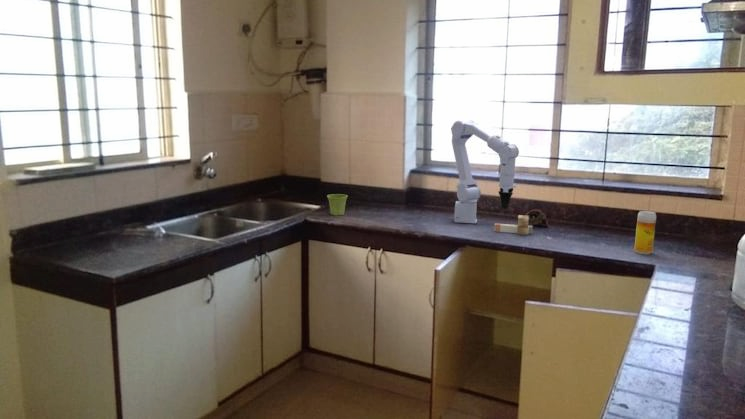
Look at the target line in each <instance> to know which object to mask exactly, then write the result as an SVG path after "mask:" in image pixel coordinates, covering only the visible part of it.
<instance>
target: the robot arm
mask: <svg viewBox="0 0 745 419" xmlns="http://www.w3.org/2000/svg"><path fill="white" fill-rule="evenodd" d="M450 131H451V135H452V136H451V144H452V150H453V154H454V159H455V163H456V168H457V173H458V178H459V182H458V184H457V185H456V188H457V189H456V190H457V191H456V196H457V200H456V201H455V205H454V214H453V217H454V223H460V224H461V223H464V224H465V223H466V224H477V222H478V219H477V204H478V203H477V202H478V200H479V199H480V197H481V195H482V192H481V189H480V187H479V185H478V182H477V181H476V180H475V179H474V178H473V174H472V170H471V166H470V160H469V156H468V153H467V152H468V151H467V147H466V143H467V141H468V140H469V139H470V138H472V136H475V137H477V138H479V139H481V141H484V142H485V143H486V144H487V147H488V148H489V149H491V150H492V151H494V152H495V153H496V154H497V155H498V157H499V159H500V160H499V161H500V168H499V169H500V174H499V183H498V187H499V191H498V195H499V197H500V203H501V208H502V209H503V210H508V207H509V205H510V200H511V197H512V195H513V194H514V193H513V191H514V188H517V184H516V185H515V184H514V183H515V169H516V158H518V156H519V153H520V150H519V148H518V146H517V145H516V144H510V142H509V141H506V140H504V139H503V138H501V135H497V134H495V135H494V134H493V135H491V134H490V133H489V132H488V131H487V130H485V129H484V128H482V127H481V126H480V125H479V124H478V123H477V122H475V121H474V120H456V121H455V122H453V124H452V125H451V128H450Z"/></svg>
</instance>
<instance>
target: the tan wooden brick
mask: <svg viewBox="0 0 745 419" xmlns="http://www.w3.org/2000/svg"><path fill="white" fill-rule="evenodd" d="M525 215H526V214H525ZM525 215H522V214H521V215H520V214H519V215H518V216H517V225H518V231H517V233H516V234H517V235H527V236H528V235H529V234H528V226H529V225H528V220H529V219H530V217H529V216H525Z"/></svg>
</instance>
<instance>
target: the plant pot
mask: <svg viewBox="0 0 745 419" xmlns="http://www.w3.org/2000/svg"><path fill="white" fill-rule="evenodd" d="M326 197H327V200H328V204H329V211H330V215H332V216H338V215H339V216H344V215H345V208H346V202H347V198H348V197H349V196H348V195H347V194H343V193H342V194H341V193H336V194H335V193H334V194H333V193H332V194H328V195H326Z"/></svg>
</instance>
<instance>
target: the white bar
mask: <svg viewBox="0 0 745 419" xmlns="http://www.w3.org/2000/svg"><path fill="white" fill-rule="evenodd" d="M495 231H496V232H497V233H509V234H510V233H513V234H517V231H518V224H508V223H507V224H506V223H497V222H496V223H494V232H495ZM528 235H533V225H528Z"/></svg>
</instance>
